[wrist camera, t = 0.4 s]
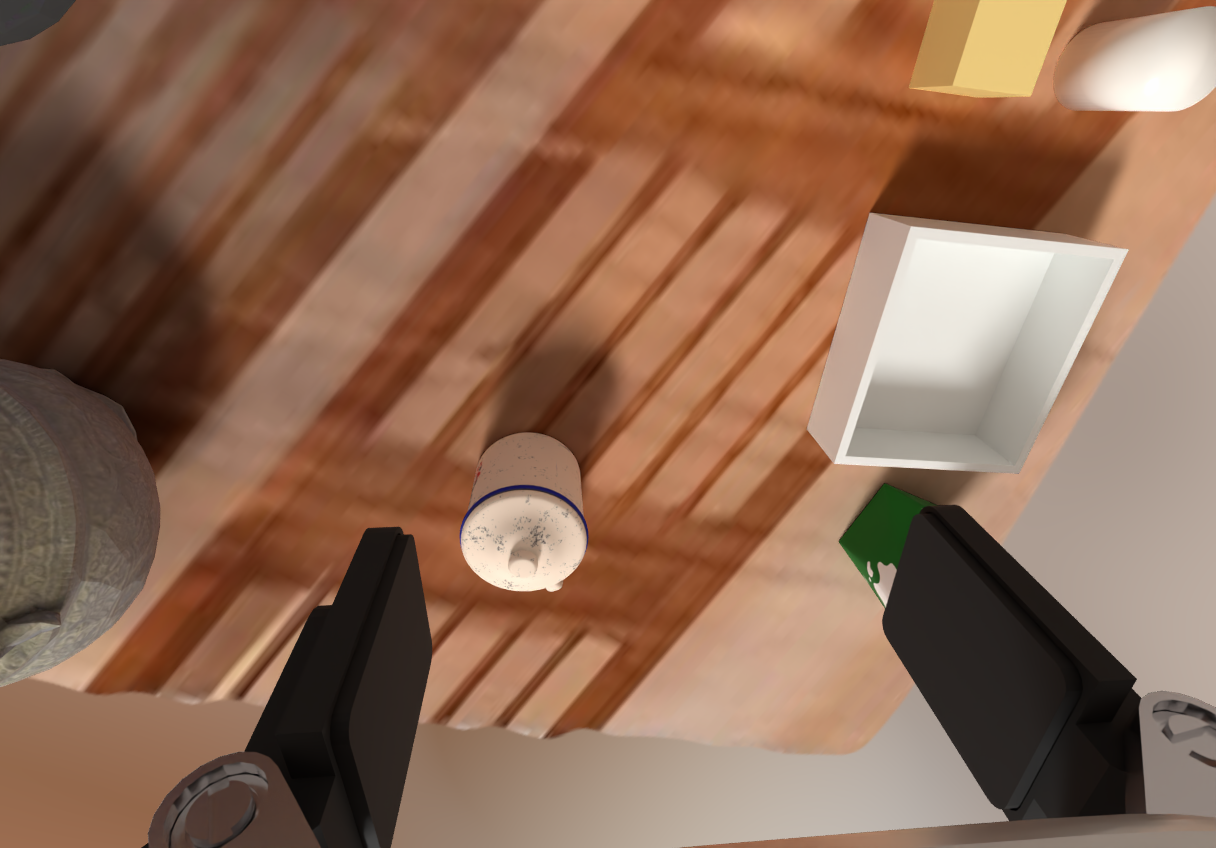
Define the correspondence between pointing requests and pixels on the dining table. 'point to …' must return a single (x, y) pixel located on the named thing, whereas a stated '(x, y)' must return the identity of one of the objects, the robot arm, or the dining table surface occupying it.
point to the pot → (67, 518)
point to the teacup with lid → (525, 514)
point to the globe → (28, 18)
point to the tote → (955, 342)
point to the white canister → (1140, 63)
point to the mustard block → (986, 46)
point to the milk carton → (882, 537)
